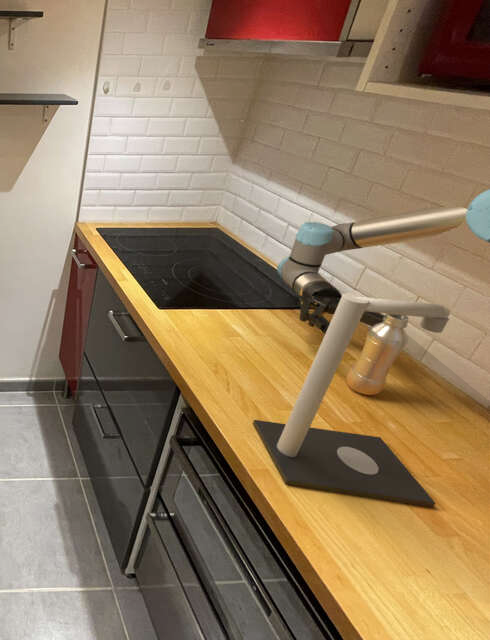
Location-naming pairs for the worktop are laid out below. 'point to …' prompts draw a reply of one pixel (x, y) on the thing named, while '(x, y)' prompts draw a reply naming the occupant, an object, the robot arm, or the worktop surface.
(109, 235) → the worktop surface
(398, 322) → the plastic bottle
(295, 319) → the worktop surface
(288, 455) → the tap
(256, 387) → the worktop surface
